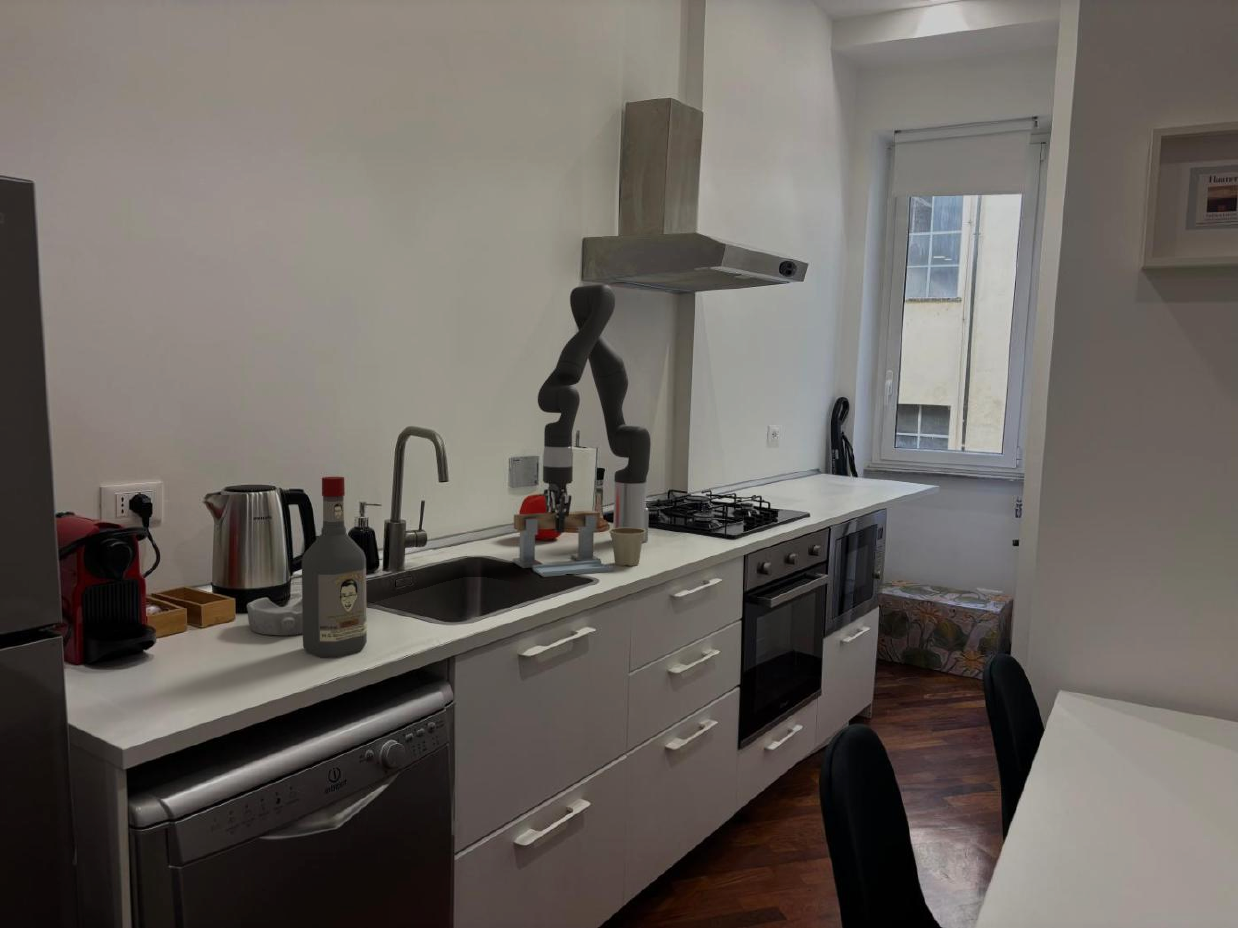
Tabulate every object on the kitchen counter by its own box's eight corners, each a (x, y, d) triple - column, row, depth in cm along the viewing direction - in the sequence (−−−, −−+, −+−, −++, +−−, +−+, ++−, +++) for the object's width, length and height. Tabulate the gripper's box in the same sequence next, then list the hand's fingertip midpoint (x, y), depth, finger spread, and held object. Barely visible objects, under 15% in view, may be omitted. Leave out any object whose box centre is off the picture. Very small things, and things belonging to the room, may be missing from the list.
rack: (588, 556, 243) (589, 511, 242) (600, 562, 236) (601, 515, 234) (512, 561, 234) (512, 515, 233) (522, 567, 227) (523, 520, 226)
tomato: (560, 544, 258) (560, 496, 257) (512, 541, 260) (513, 494, 259) (572, 534, 274) (572, 489, 272) (527, 532, 276) (527, 487, 274)
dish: (237, 626, 173) (237, 600, 172) (309, 614, 182) (309, 589, 182) (267, 644, 162) (266, 616, 162) (341, 630, 171) (341, 604, 171)
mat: (599, 564, 232) (599, 560, 232) (612, 571, 225) (613, 566, 225) (532, 570, 225) (532, 565, 225) (543, 576, 217) (543, 571, 217)
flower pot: (602, 565, 232) (603, 531, 231) (616, 558, 240) (616, 526, 239) (637, 569, 228) (638, 534, 227) (650, 562, 237) (650, 529, 236)
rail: (594, 523, 240) (594, 510, 240) (599, 525, 237) (599, 512, 237) (513, 528, 231) (513, 514, 230) (518, 530, 228) (518, 516, 227)
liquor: (297, 649, 159) (294, 477, 156) (344, 638, 166) (342, 473, 163) (325, 661, 153) (323, 482, 150) (372, 649, 160) (371, 478, 157)
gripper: (582, 466, 227) (581, 535, 229) (561, 461, 240) (560, 526, 242) (553, 467, 224) (553, 537, 226) (534, 461, 237) (533, 527, 239)
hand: (557, 530), depth 234 cm, fingers closed on rail, 3 cm apart
